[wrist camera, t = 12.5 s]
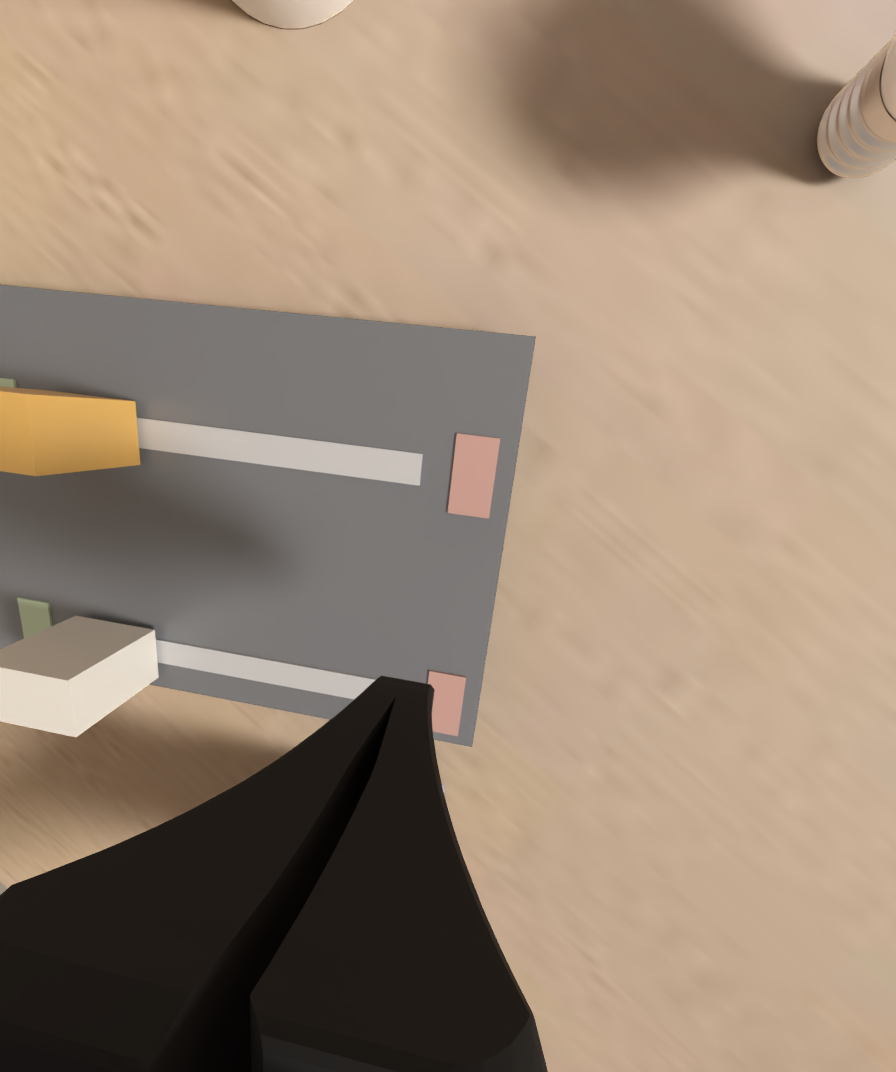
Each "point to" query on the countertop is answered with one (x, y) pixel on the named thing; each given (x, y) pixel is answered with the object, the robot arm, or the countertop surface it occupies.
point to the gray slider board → (272, 496)
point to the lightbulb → (862, 120)
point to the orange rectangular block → (65, 432)
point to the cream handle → (74, 674)
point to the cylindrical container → (292, 11)
